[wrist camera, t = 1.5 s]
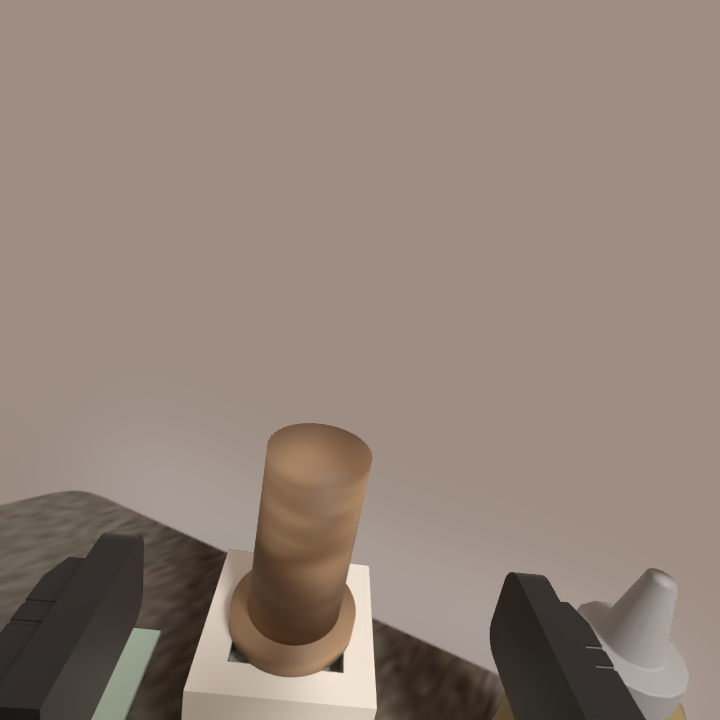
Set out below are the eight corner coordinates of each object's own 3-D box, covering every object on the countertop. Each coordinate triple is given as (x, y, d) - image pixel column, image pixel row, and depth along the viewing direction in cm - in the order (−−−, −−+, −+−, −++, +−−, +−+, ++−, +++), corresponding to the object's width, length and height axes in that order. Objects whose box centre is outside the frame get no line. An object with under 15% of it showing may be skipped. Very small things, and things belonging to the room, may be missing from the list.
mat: (-94, 778, 24) (-95, 772, 23) (22, 620, 32) (22, 616, 32) (95, 792, 24) (95, 787, 24) (160, 634, 33) (160, 630, 33)
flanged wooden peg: (212, 687, 23) (232, 481, 19) (241, 579, 30) (261, 407, 26) (349, 700, 24) (397, 503, 20) (349, 591, 30) (385, 425, 26)
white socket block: (175, 798, 25) (183, 690, 22) (219, 641, 33) (229, 549, 30) (348, 811, 25) (376, 709, 23) (348, 654, 34) (368, 566, 31)
